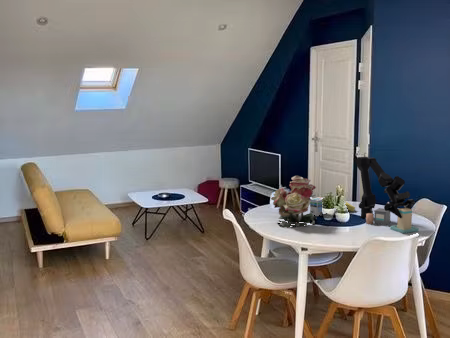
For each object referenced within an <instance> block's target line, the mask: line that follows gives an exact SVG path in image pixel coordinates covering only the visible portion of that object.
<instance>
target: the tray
mask: <svg viewBox="0 0 450 338" xmlns="http://www.w3.org/2000/svg"><path fill="white" fill-rule="evenodd" d="M419 229H420V228H419V227H416V226H411V229H408V230H402V229H399V228H397V224H396V225H390V227H389V230H392V231H395V232H397V233H400V234H409V233H417V232H419Z"/></svg>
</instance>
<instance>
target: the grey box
mask: <svg viewBox="0 0 450 338" xmlns="http://www.w3.org/2000/svg"><path fill="white" fill-rule="evenodd" d="M373 213H374V224H375V225H380V226H381V225H382V226H387V225H388V224H390V223H391V212H389V211H385V209H384V207H383V208H381V207H378V208H377V209H375V210H373ZM374 224H373V225H374Z"/></svg>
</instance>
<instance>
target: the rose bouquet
mask: <svg viewBox="0 0 450 338" xmlns="http://www.w3.org/2000/svg"><path fill="white" fill-rule="evenodd" d="M291 180H292V181H289V188H290V189H291V190H290V191H288V190H286V189H285V187H283V186H282V187H280V188H278V189H277V190H275V192H274V193H273V196H271V198H270V199H271V201H273V202H272V205H273V208H274V209H276V208H278V214H279V215H280V216H279V217H278V218H277V220H278V219H284V220H286V221H288V222H289V221H290V223H287V222H285V221H281V222H282V223H280V224H279V225H280V226H282V227H283V228H284V227H290V226H298V227H297V228H299V227H300V226H304V225H307V224H304V223H299V222H308V223H310V221H312V222H311V223H310V224H315V220H317V216H314V214H312V212H311V213H310V212H309V213H307V214H304V213H306V212H308V211H309V208H310V202H311V199H312V198H314V197H316V194H315V195H314V190H315V189H316V188H317V186H315V185H313V184H309V183H310V182H311V179H308V178H306V177H302V176H300V175H294V176H292V177H291ZM278 222H280V220H279V221H278ZM292 222H294V223H292ZM295 222H297V223H295ZM291 224H295V225H291Z"/></svg>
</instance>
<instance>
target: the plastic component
mask: <svg viewBox="0 0 450 338" xmlns="http://www.w3.org/2000/svg"><path fill="white" fill-rule="evenodd" d="M345 202H346V204H345V205H346V206H347V208H348V209H347V210H348V211H350V212H354V211H355V209H356V207H355V205H352V204H351V203H348V202H347V201H345Z"/></svg>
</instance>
